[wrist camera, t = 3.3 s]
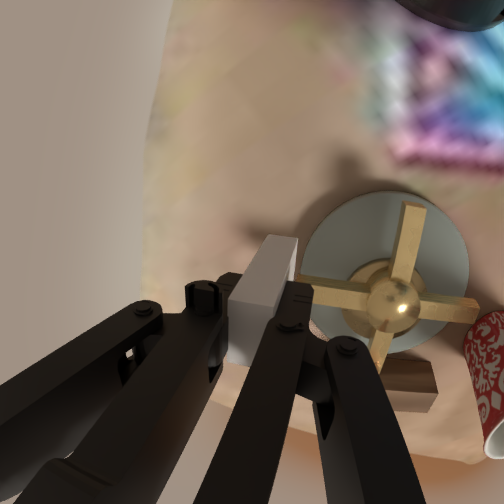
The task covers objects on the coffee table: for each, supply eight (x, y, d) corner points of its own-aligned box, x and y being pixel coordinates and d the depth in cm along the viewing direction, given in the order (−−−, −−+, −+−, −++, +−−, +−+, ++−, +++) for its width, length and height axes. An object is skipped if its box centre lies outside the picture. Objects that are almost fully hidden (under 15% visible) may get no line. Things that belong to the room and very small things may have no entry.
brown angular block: (364, 355, 32) (364, 387, 28) (430, 362, 30) (438, 393, 26) (354, 383, 34) (353, 415, 29) (417, 389, 32) (422, 420, 28)
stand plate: (311, 178, 27) (309, 181, 26) (481, 207, 24) (487, 212, 22) (292, 333, 33) (290, 341, 32) (435, 351, 30) (437, 360, 28)
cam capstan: (309, 181, 26) (300, 199, 19) (487, 212, 22) (524, 239, 16) (290, 344, 32) (277, 391, 26) (436, 362, 29) (448, 409, 22)
